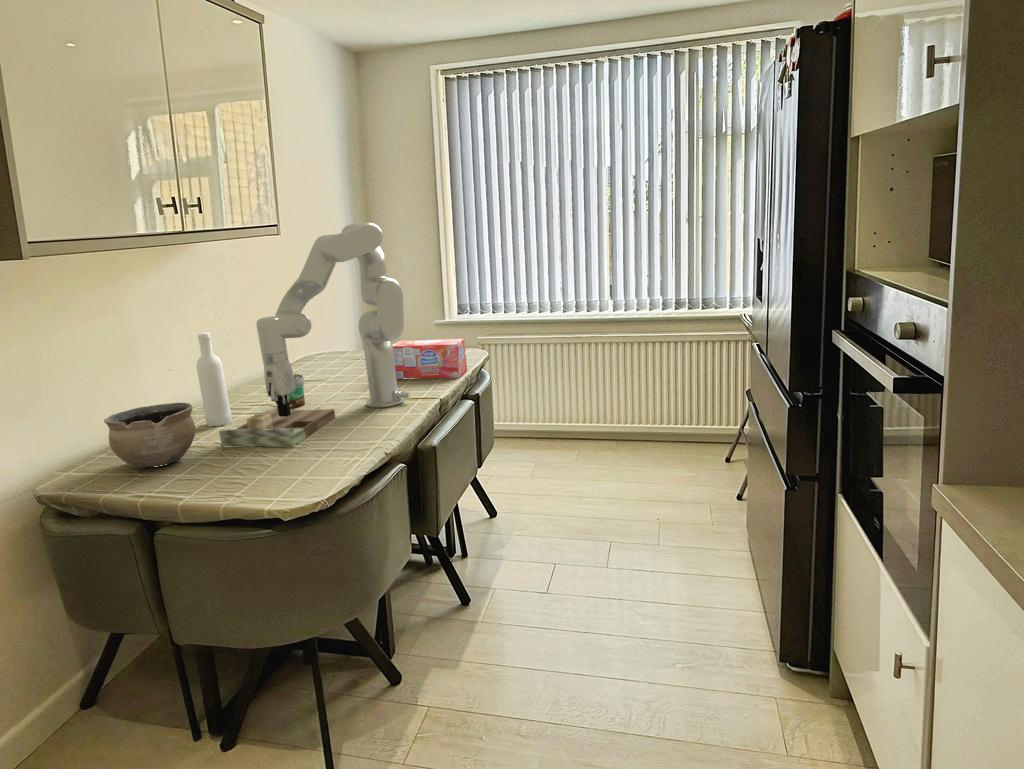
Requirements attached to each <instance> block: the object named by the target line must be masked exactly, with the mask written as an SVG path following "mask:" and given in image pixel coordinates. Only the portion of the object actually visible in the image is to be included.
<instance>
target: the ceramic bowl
mask: <svg viewBox="0 0 1024 769" xmlns="http://www.w3.org/2000/svg"><path fill="white" fill-rule="evenodd" d="M192 412H193V405H192V404H191V403H189V402H171V403H163V404H161V403H160V404H155V405H149V406H142V407H139V406H138V407H136V408H132V409H127V410H124V411H120V412H117V413H114V414H112V415H109V416H108V417H106V418H105V419H104V420H103V422H104V424H106V426H107V427H108V430H109V431H108V444H109V447H110V450H111V451H112V452H113V453H114V454H115V455H116V457H117V458H119V459H120V460H121V461H123V462H124V463H125V464H128V465H130V466H132V467H135V468H137V467H154V466H160V465H165V464H168V465H170V464H169V463H171V464H173V463H175V462H178V461H179V460H181V458H182V457H183V456H184V455H185V454H186V453H187V452H188V450H189V449H190V447H191V446H192V444H193V442H194V439H195V435H196V425H195V421H194V419H193V417H192V415H191V414H192ZM172 462H173V463H172Z"/></svg>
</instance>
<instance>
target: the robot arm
mask: <svg viewBox="0 0 1024 769" xmlns="http://www.w3.org/2000/svg"><path fill="white" fill-rule="evenodd" d="M383 235H384V234H383V232H382V229H381V227H379V225H377V224H375V223H372V222H356V223H349V224H347V225H345V226H344V227H343V228H342V229H341V232H340V233H336V234H335V233H334V234H323V235H319V236H318V237H317V238H316V240H315V241H314V242H313V245H312V247H311V249H310V251H309V254H308V256H307V258H306V261H305V263H304V265H303V267H302V270H301V272H300V273H299V276H298V277H297V279H296V280H295V282H293V284H291V286H290V288H288V290H287V291H286V293H285V294H284V295H283V297H282V299H281V301H280V303H279V305H278V308H277V310H276V312H275V315H274V316H265V317H261V318H259V319H258V320H256V322H255V323H256V324H255V325H256V330H257V335H258V336H257V337H258V340H259V342H258V343H259V348H260V353H261V359H262V365H263V374H264V382H265V383H264V384H265V389H266V390H265V391H266V393H267V396H268V397H270V400H271V402H275V405H276V406H277V411H278V413H279V416H280V417H284V416H289V415H291V412H290V410H291V409H290V406H289V395H290V393H291V392H292V391H293V390H294V389H295V388H296V385H295V380H294V372H293V371H294V370H293V368H292V364H291V361H290V359H289V354H288V347H287V341H286V339H298V338H303V337H305V336H306V335H308V334H309V333H310V331H311V330H312V320H311V318H309V317H308V316H307V315H305V314H304V313H302V312H303V310H304V309H305V306H306V305H307V304H308V303H309V302H310V301H311V300H312V299H313V298H315V297H316V296H318V295H319V294H321V292H323V291H324V290H325V289H326V288H327V285H328V283H329V281H330V278H331V276H332V274H333V271H334V269H335V267H336V264H337V263H344V262H347V261H351V260H353V259H357V261H358V263H359V264H358V265H359V271H360V272H359V273H360V297H361V299H362V302H364V304H366V305H368V306H372V307H376V309H372V310H367V311H365V312H364V313H363V314H362V315H361V316H360V317H359V320H358V332H359V335H360V339H361V342H362V346H363V352H364V360H365V368H366V375H367V383H368V390H369V399H368V400H366V402H365V404H366V407H370V408H378V409H379V408H387V407H388V408H389V407H393V406H397V405H401V404H402V403H403V402H404V399H410V397H411V394H410V392H409V391H408V390H407V391H402V389H401V387H398V380H397V378H396V370H395V361H394V352H393V347H392V345H393V344H392V342H393V341H396V340H399V338H400V337H401V336H402V334H403V331H404V327H405V311H404V310H405V308H404V305H405V304H404V292H403V289H402V287H401V284H400V283H399V282H398V281H397V280H396V279H394V278H392V277H388V272H387V262H386V256H385V253H384V251H383V249H382V248H381V244H382V242H383V238H384V236H383Z"/></svg>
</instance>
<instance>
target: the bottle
mask: <svg viewBox="0 0 1024 769" xmlns="http://www.w3.org/2000/svg"><path fill="white" fill-rule="evenodd" d="M197 340H198V343H199V350H200V354H201V355H200V356H199V358H198V359H197V362H196V372H197V377H198V384H199V389H200V393H201V400H202V405H203V410H204V417H205V422H206V426H207V425H208V426H207V427H209V426H217V427H222V426H221V425H223V426H225V425H226V424H227V425H229V424H231V423H232V422H233V420H232V412H231V408H230V403H229V396H228V390H227V385H226V380H225V379H226V378H225V373H224V372H225V371H224V367H223V363H222V361H221V359H220V357H219V356H218V355H215V353H214V350H213V345H212V336H211V332H208V331H206V332H200V333H198V334H197Z"/></svg>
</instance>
